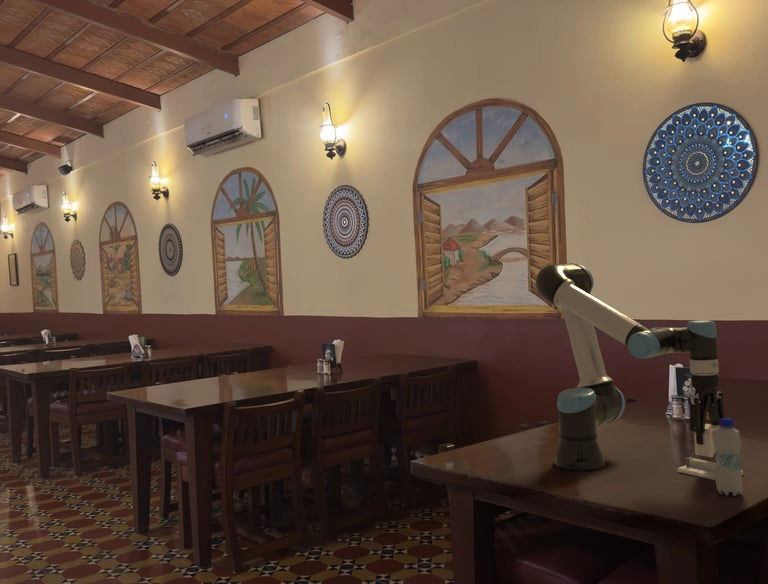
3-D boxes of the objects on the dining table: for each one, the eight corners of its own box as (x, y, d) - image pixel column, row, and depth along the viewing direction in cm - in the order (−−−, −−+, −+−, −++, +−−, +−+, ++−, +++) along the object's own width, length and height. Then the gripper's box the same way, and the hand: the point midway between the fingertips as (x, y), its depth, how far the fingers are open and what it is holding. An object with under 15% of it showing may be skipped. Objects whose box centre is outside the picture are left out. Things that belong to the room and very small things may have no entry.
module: (711, 457, 198) (710, 429, 198) (695, 454, 202) (693, 427, 202) (724, 453, 201) (722, 426, 201) (707, 450, 205) (706, 423, 205)
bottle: (735, 489, 186) (731, 414, 186) (749, 496, 180) (745, 419, 179) (710, 490, 186) (706, 416, 186) (723, 498, 179) (719, 421, 179)
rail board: (722, 481, 193) (721, 469, 193) (677, 471, 205) (677, 460, 205) (743, 475, 198) (742, 463, 198) (698, 465, 210) (697, 454, 210)
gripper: (696, 378, 193) (701, 461, 193) (736, 370, 203) (740, 449, 203) (672, 376, 199) (677, 456, 200) (712, 369, 210) (716, 445, 210)
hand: (709, 453), depth 201 cm, fingers closed on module, 6 cm apart
